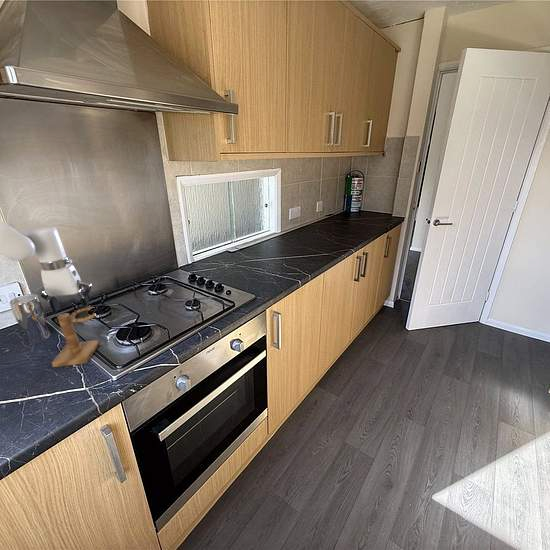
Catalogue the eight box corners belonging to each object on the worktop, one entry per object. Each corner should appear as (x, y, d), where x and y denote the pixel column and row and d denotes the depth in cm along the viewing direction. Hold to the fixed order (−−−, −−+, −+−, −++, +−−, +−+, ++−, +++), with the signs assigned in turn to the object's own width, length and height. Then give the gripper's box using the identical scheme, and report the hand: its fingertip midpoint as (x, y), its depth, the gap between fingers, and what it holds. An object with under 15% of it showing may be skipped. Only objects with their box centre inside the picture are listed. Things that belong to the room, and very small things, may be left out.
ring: (64, 325, 101) (63, 321, 100) (77, 311, 110) (75, 307, 109) (94, 322, 102) (93, 318, 102) (104, 308, 111) (103, 305, 110)
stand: (52, 367, 81) (35, 326, 76) (68, 347, 90) (54, 309, 84) (87, 363, 83) (73, 322, 77) (99, 343, 91) (87, 305, 85)
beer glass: (53, 331, 98) (37, 291, 92) (55, 341, 93) (38, 299, 87) (26, 339, 94) (8, 298, 88) (27, 350, 89) (8, 307, 83)
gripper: (87, 257, 102) (101, 300, 109) (33, 262, 99) (51, 305, 107) (78, 265, 95) (93, 310, 102) (19, 270, 93) (39, 316, 100)
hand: (71, 308), depth 104 cm, fingers open, 9 cm apart
